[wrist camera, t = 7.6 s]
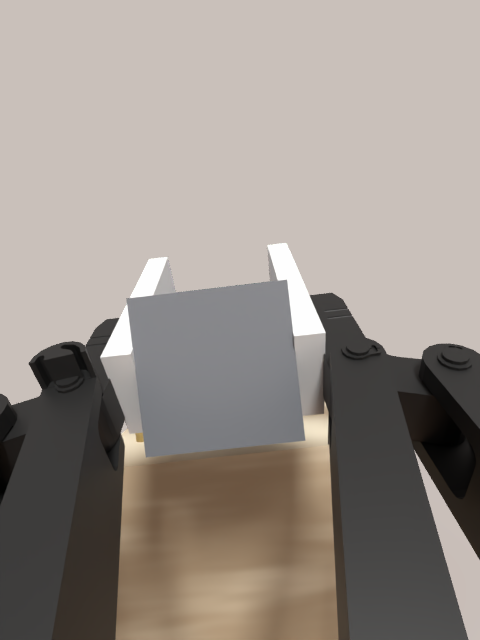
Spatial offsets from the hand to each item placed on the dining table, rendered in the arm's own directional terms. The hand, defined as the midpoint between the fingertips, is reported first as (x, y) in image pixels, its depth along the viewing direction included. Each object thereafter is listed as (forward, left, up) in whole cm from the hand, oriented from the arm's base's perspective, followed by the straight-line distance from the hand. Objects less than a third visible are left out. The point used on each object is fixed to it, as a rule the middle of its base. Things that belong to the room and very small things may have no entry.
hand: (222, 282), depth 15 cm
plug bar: (-6, +4, -5) cm, 9 cm away
